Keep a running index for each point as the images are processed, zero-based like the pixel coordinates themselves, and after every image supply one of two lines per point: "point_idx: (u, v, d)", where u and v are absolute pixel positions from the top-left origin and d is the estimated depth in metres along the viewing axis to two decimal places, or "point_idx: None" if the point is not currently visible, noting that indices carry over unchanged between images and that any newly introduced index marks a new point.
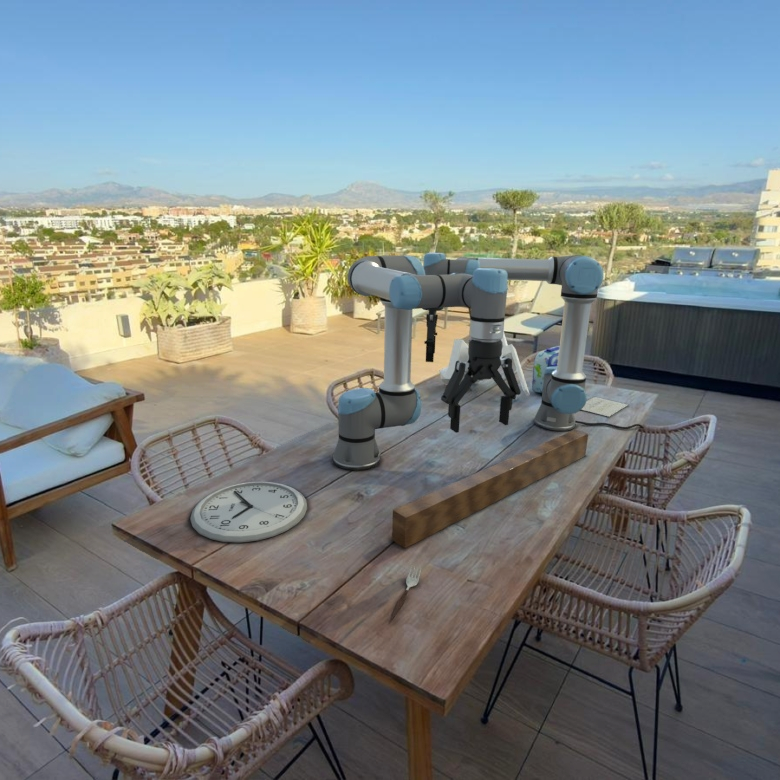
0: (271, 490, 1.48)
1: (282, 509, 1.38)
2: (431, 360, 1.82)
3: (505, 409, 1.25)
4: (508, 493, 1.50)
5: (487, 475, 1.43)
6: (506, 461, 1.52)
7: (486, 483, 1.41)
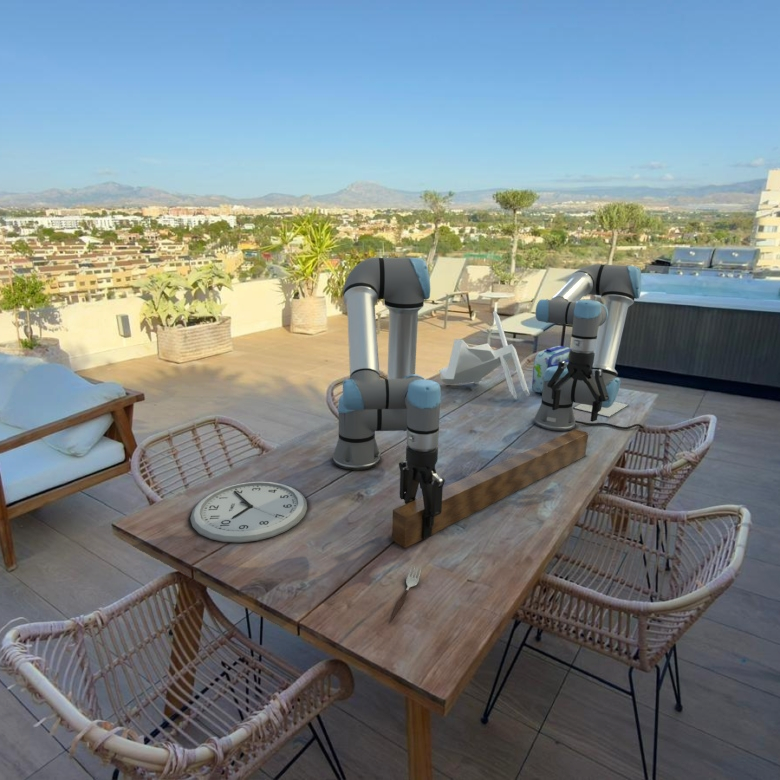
0: (271, 490, 1.48)
1: (282, 509, 1.38)
2: (596, 418, 1.64)
3: None
4: (508, 493, 1.50)
5: (487, 475, 1.43)
6: (506, 461, 1.52)
7: (486, 483, 1.41)
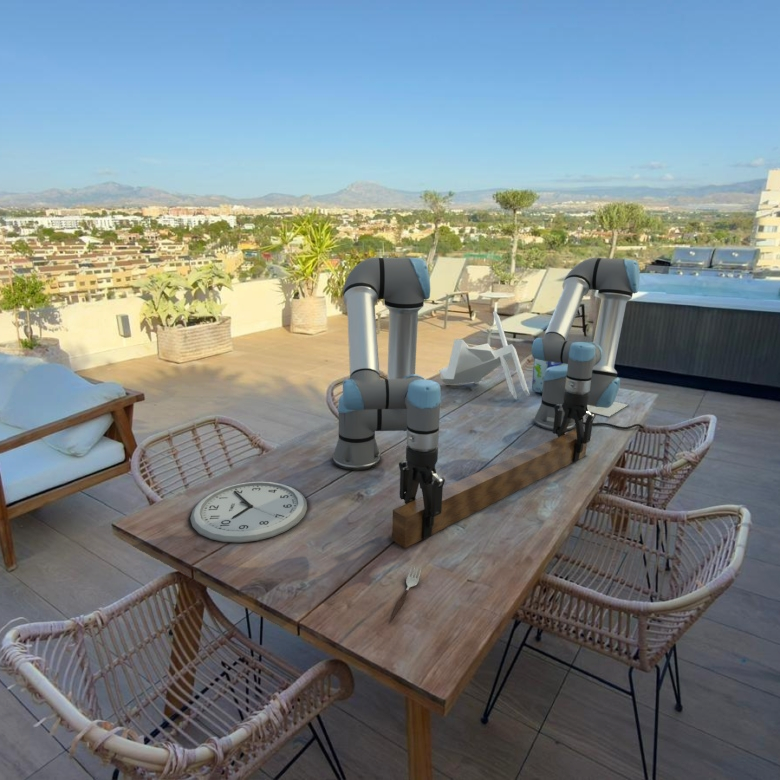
0: (271, 490, 1.48)
1: (282, 509, 1.38)
2: (578, 458, 1.72)
3: None
4: (508, 493, 1.50)
5: (487, 475, 1.43)
6: (506, 461, 1.52)
7: (486, 483, 1.41)
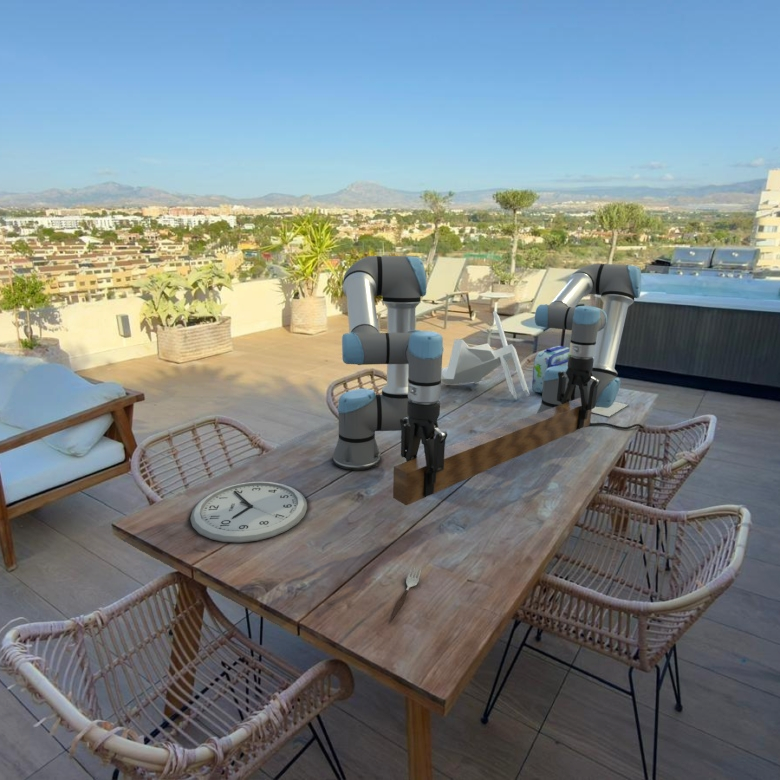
0: (271, 490, 1.48)
1: (282, 509, 1.38)
2: (582, 426, 1.69)
3: None
4: (511, 457, 1.46)
5: (490, 436, 1.40)
6: (509, 424, 1.49)
7: (489, 444, 1.38)
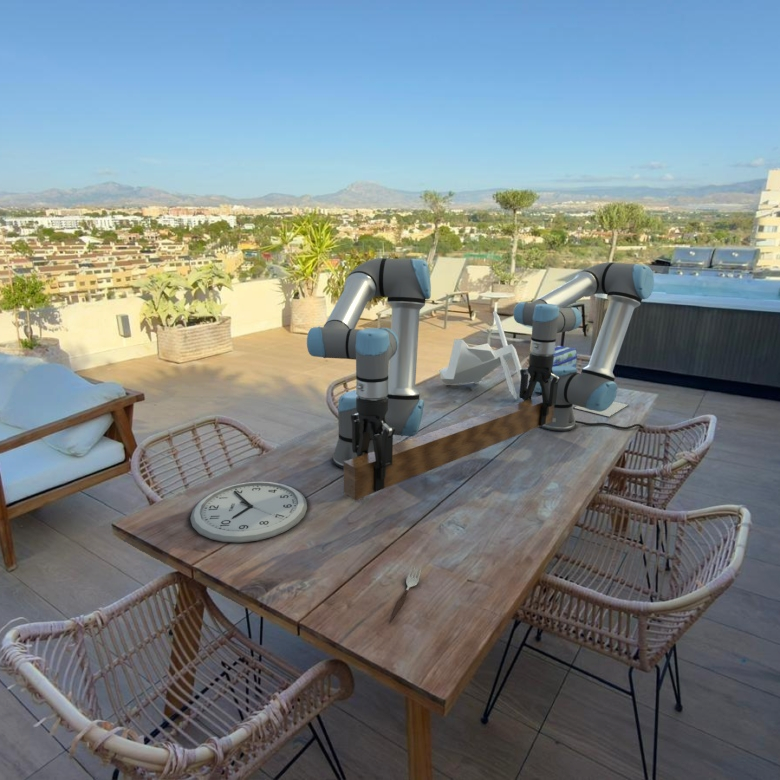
0: (271, 490, 1.48)
1: (282, 509, 1.38)
2: (544, 422, 1.71)
3: None
4: (468, 452, 1.48)
5: (445, 432, 1.42)
6: (467, 421, 1.51)
7: (443, 440, 1.40)
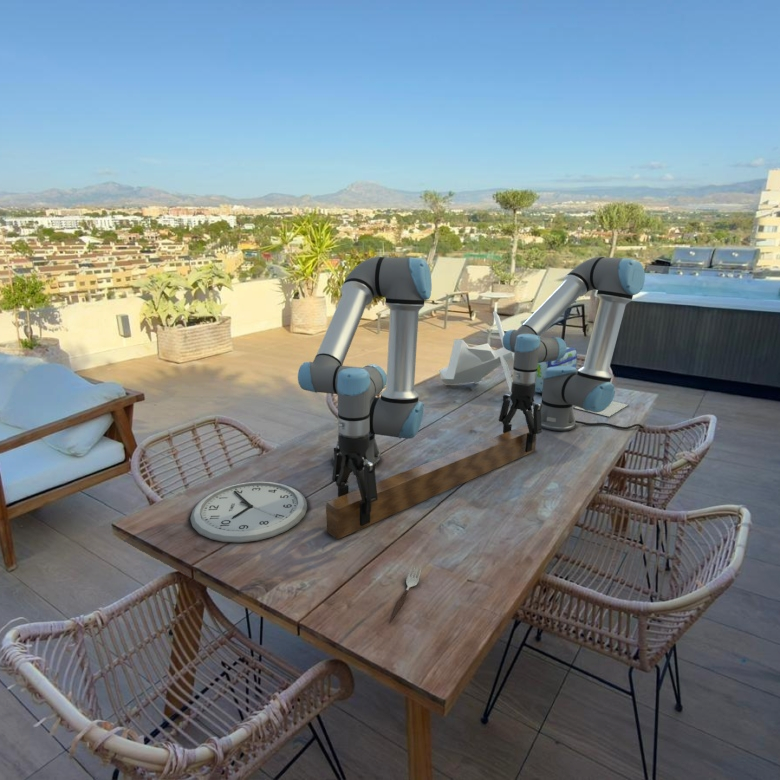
0: (271, 490, 1.48)
1: (282, 509, 1.38)
2: (530, 449, 1.73)
3: None
4: (450, 487, 1.53)
5: (427, 469, 1.46)
6: (449, 455, 1.55)
7: (425, 477, 1.44)
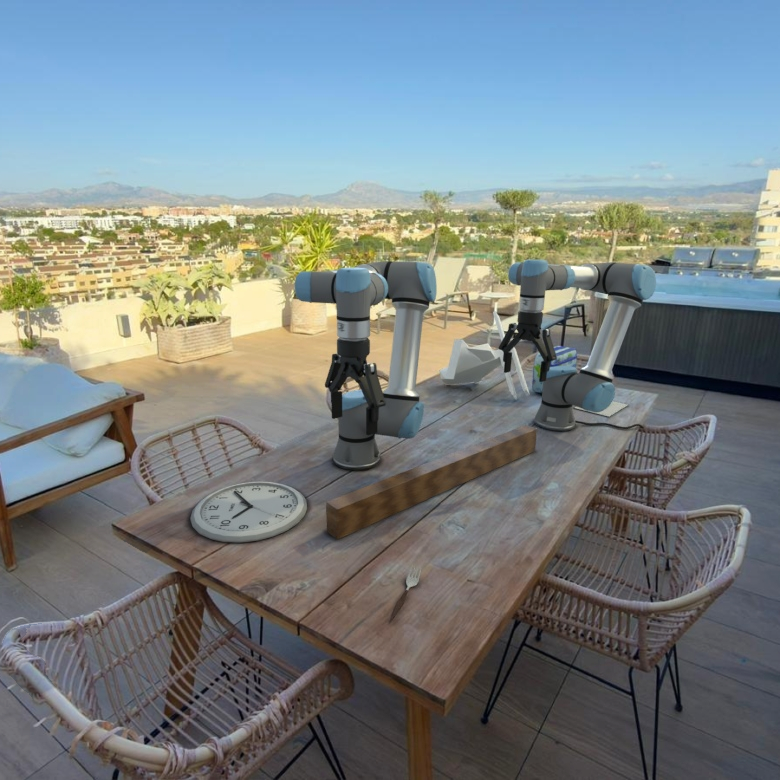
0: (271, 490, 1.48)
1: (282, 509, 1.38)
2: (545, 379, 1.64)
3: None
4: (450, 487, 1.53)
5: (427, 469, 1.46)
6: (449, 455, 1.55)
7: (425, 477, 1.44)
